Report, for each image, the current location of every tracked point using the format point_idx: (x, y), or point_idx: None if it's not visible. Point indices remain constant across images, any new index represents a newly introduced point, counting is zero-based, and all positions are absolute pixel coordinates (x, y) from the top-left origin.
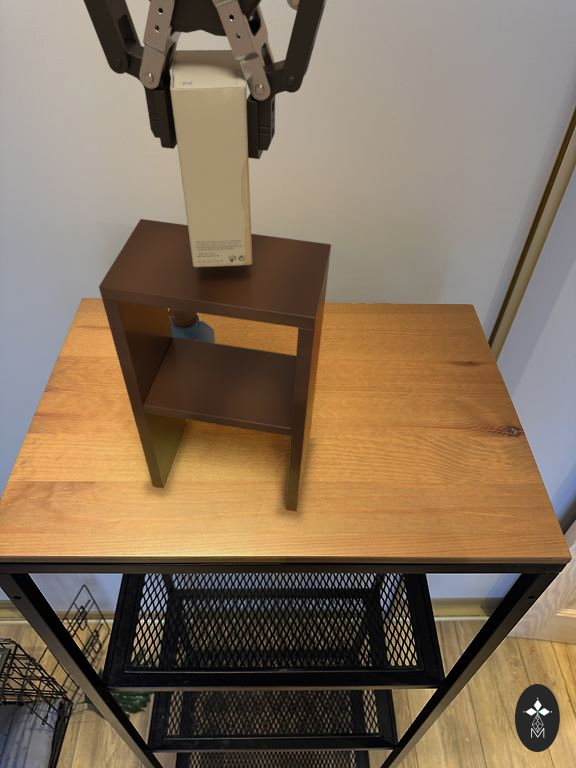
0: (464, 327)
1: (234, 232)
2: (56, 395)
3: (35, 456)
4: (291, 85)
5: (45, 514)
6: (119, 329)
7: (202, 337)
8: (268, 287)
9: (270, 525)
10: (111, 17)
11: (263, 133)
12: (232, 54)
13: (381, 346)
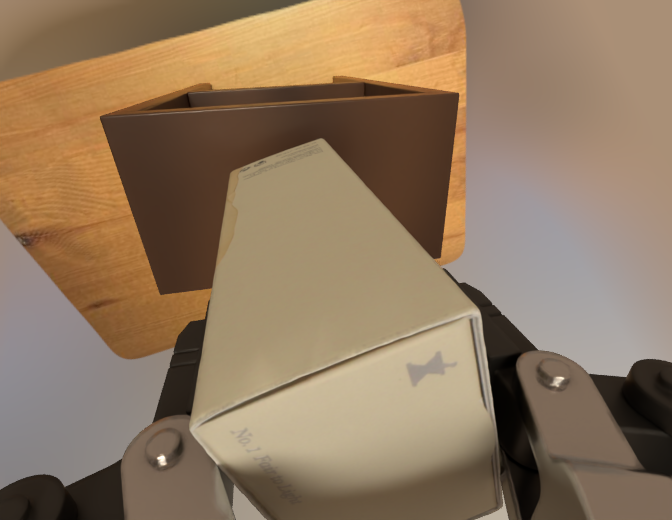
0: (118, 343)
1: (255, 181)
2: (459, 153)
3: (457, 81)
4: (6, 504)
5: (428, 17)
6: (412, 88)
7: None
8: (208, 169)
9: (218, 61)
10: None
11: (194, 350)
12: None
13: (189, 297)
